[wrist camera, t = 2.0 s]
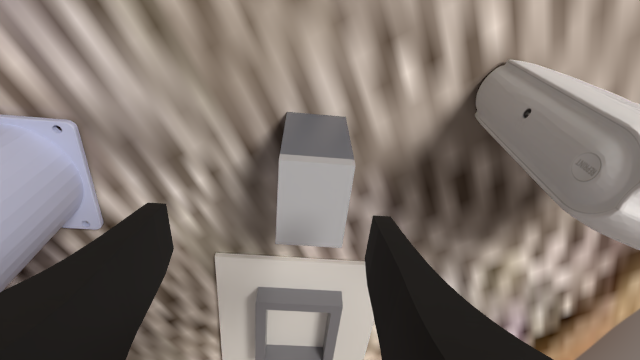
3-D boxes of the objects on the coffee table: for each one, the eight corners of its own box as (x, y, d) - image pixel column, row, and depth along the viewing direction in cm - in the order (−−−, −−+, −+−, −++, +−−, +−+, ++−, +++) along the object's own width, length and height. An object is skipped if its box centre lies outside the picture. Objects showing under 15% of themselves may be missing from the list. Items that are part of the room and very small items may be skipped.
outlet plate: (223, 363, 35) (219, 383, 33) (215, 252, 27) (209, 271, 26) (359, 368, 35) (362, 388, 34) (387, 262, 28) (391, 281, 27)
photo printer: (458, 116, 22) (591, 265, 11) (498, 46, 20) (707, 149, 9) (596, 164, 24) (820, 329, 13) (647, 104, 22) (959, 244, 11)
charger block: (283, 183, 24) (275, 243, 19) (287, 111, 22) (278, 160, 17) (335, 186, 25) (341, 247, 19) (345, 116, 22) (355, 165, 17)
